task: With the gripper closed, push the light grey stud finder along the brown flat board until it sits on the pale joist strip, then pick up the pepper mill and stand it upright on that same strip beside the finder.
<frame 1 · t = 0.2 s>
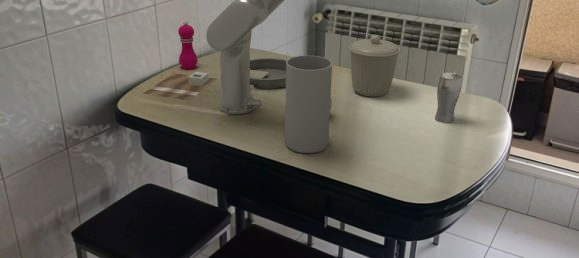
cylinder vase: (306, 144, 157), on the table
cake pan: (267, 79, 207), on the table
sculpture: (312, 116, 176), on the table
pepper mill: (189, 71, 213), on the table
beer glass: (444, 119, 175), on the table
stud finder: (198, 82, 197), point 1 cm above the table, touching brown flat board
canister: (370, 92, 196), on the table
brown flat board: (181, 89, 195), on the table
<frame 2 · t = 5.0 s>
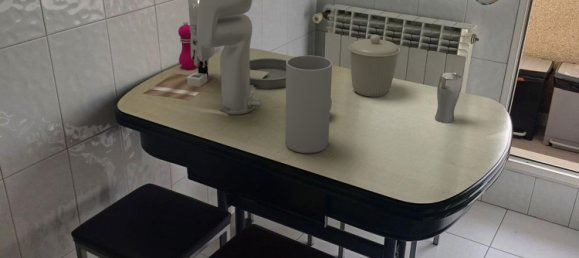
hand: (203, 76, 200), 3 cm above the table, tool pointing down, fingers closed
stud finder: (197, 83, 196), point 2 cm above the table, touching gripper
everything else where it was.
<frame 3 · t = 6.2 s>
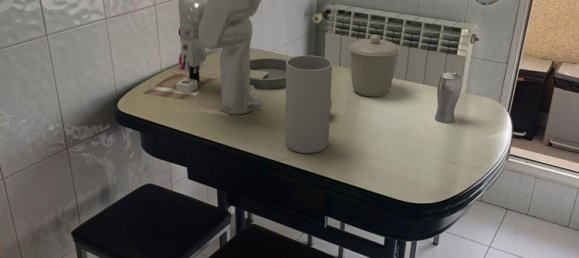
hand: (194, 82, 194), 3 cm above the table, tool pointing down, fingers closed
stud finder: (187, 89, 191), point 2 cm above the table, touching gripper
everything else where it was.
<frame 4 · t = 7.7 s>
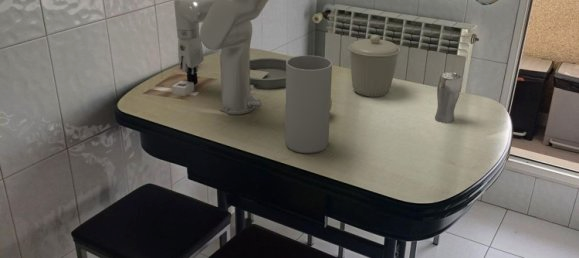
hand: (192, 83, 191), 3 cm above the table, tool pointing down, fingers closed
stud finder: (183, 92, 189), point 1 cm above the table, touching brown flat board
everything else where it was.
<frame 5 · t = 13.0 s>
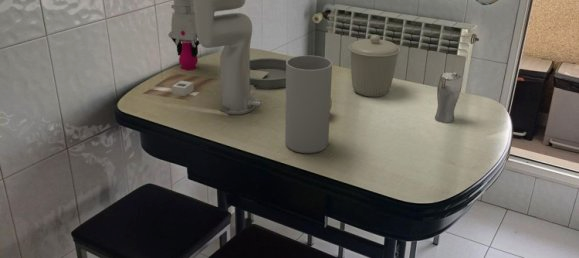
hand: (187, 54, 210), 7 cm above the table, tool pointing down, fingers closed on pepper mill, 5 cm apart
pepper mill: (189, 71, 213), on the table, touching gripper
everything else where it was.
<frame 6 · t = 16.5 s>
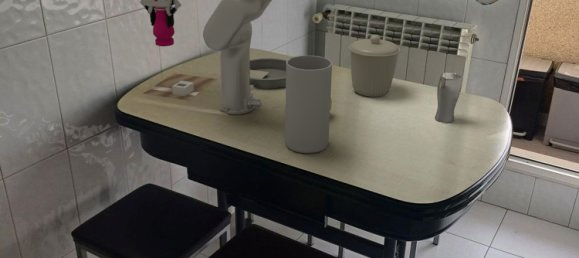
hand: (162, 25, 183), 24 cm above the table, tool pointing down, fingers closed on pepper mill, 5 cm apart
pepper mill: (164, 44, 186), point 17 cm above the table, touching gripper
everything else where it was.
when the fingers open (9 cm above the table, at t = 20.1 s): pepper mill drops 1 cm, resting on brown flat board.
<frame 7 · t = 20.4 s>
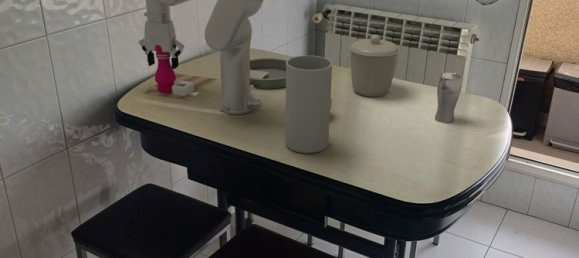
hand: (163, 66, 187), 10 cm above the table, tool pointing down, fingers open, 8 cm apart
pepper mill: (166, 90, 191), point 1 cm above the table, touching brown flat board
everything else where it was.
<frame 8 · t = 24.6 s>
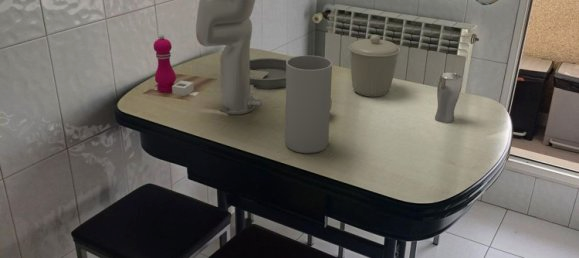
nothing on the table moved.
at the end: stud finder 0.6 cm from the target spot, point 1.5 cm above the table; pepper mill 0.8 cm from the target spot, point 1.3 cm above the table; pepper mill tilted 0° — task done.
